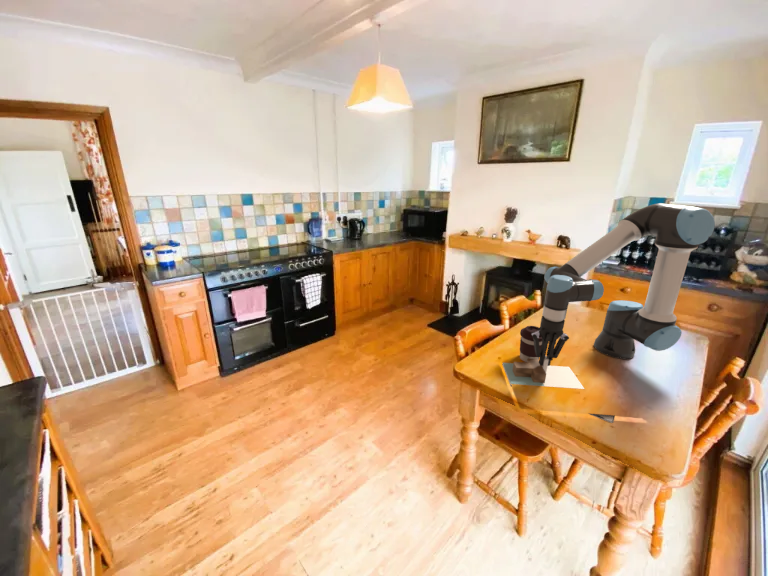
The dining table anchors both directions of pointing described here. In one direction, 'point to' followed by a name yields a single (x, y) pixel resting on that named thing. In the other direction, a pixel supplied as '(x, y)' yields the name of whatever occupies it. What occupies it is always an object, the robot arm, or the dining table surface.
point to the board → (554, 377)
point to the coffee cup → (528, 343)
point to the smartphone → (605, 417)
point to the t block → (530, 370)
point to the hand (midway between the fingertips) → (542, 372)
